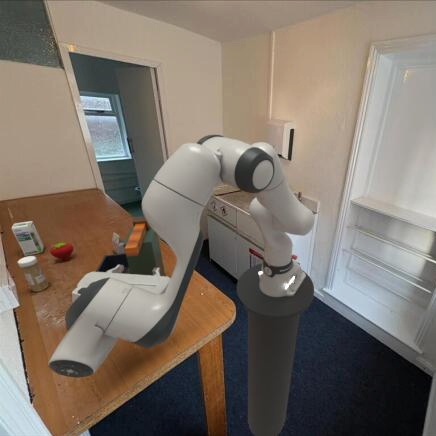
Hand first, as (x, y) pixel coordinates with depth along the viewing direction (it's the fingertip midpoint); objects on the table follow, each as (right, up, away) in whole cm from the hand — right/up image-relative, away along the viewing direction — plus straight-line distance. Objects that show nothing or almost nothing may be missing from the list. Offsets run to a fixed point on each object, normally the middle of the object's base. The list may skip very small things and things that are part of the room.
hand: (139, 268), depth 68 cm
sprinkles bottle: (-52, -12, +22) cm, 58 cm away
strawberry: (-58, -4, +37) cm, 69 cm away
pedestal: (-11, -14, +25) cm, 31 cm away
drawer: (-24, -14, +23) cm, 36 cm away
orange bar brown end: (-7, +7, +11) cm, 15 cm away
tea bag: (-38, -2, +45) cm, 59 cm away
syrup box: (-76, -1, +41) cm, 86 cm away
